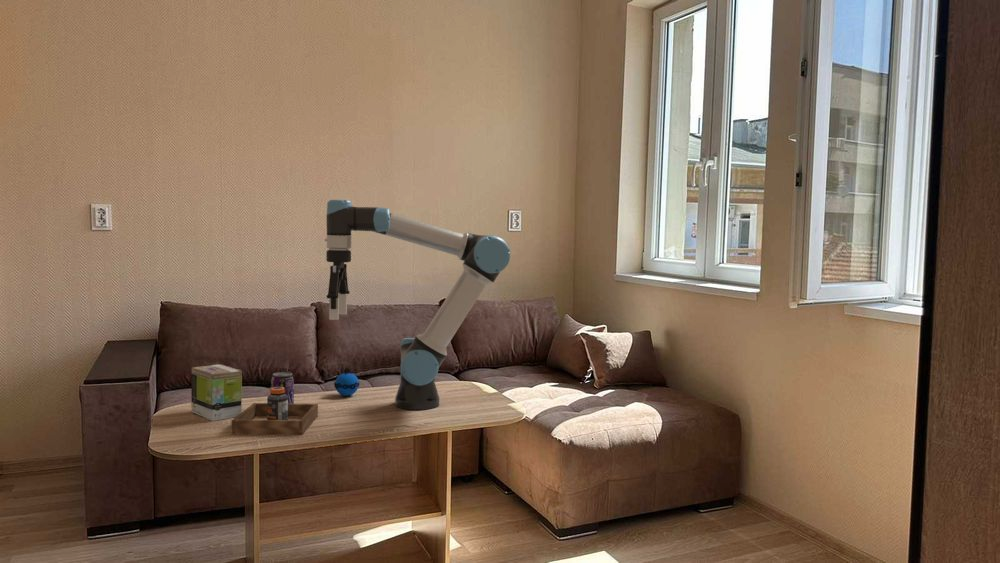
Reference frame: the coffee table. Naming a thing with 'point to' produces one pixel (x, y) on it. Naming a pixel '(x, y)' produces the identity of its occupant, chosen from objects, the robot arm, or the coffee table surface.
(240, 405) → the tea box
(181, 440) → the coffee table surface
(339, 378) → the ornament
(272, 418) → the pill bottle
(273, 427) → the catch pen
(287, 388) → the beverage can
